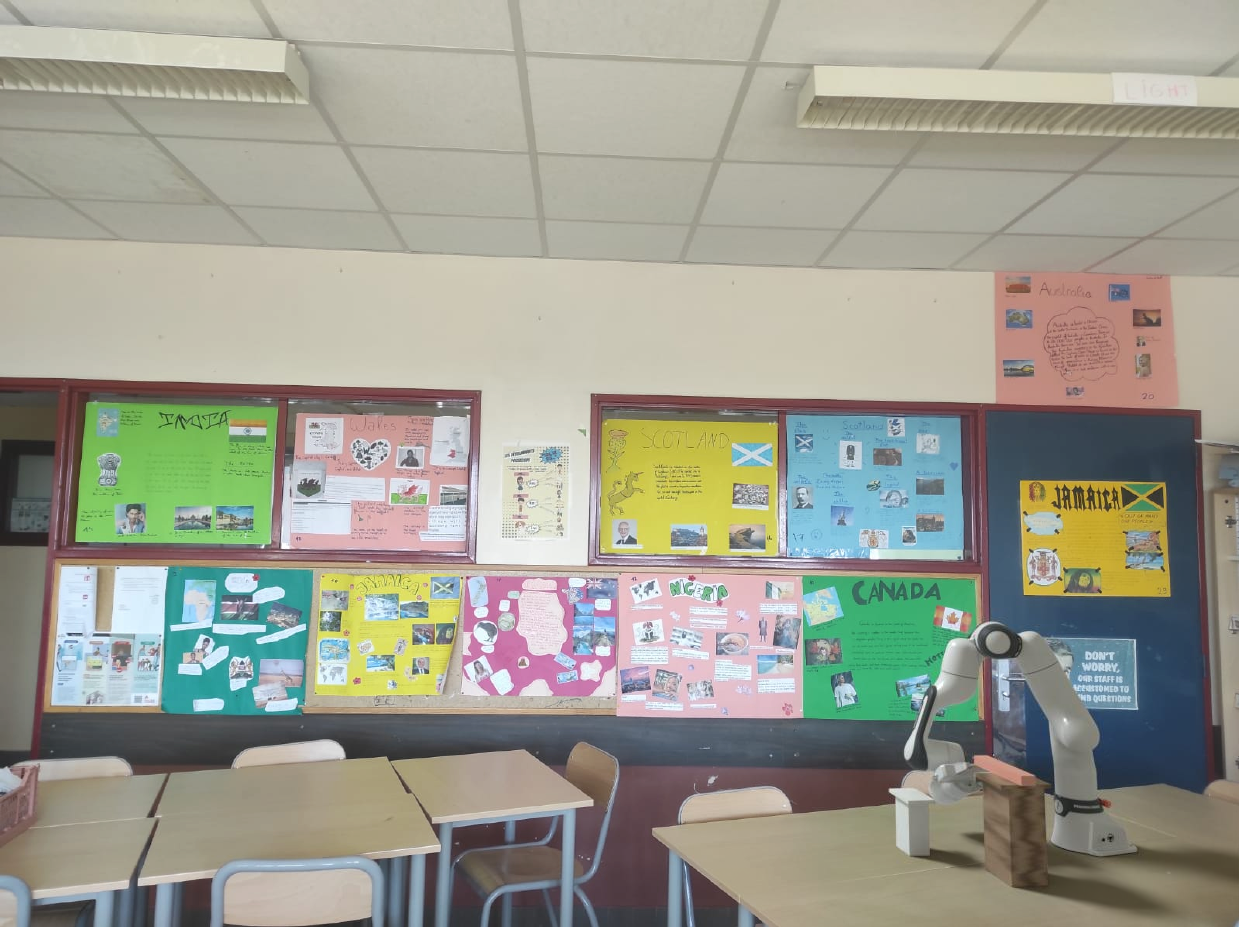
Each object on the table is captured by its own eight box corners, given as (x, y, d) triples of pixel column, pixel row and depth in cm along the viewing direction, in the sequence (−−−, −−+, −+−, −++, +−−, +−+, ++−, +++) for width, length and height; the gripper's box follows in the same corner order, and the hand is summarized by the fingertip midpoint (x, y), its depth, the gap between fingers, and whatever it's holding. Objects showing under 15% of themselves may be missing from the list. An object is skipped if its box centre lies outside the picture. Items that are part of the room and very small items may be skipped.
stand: (915, 843, 240) (914, 788, 242) (936, 857, 228) (935, 800, 230) (890, 843, 239) (888, 788, 241) (909, 858, 227) (908, 800, 229)
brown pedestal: (1025, 867, 223) (1021, 771, 226) (1055, 885, 210) (1051, 784, 213) (977, 868, 221) (974, 772, 224) (1004, 887, 209) (1001, 785, 211)
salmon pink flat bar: (987, 764, 233) (987, 755, 233) (1035, 785, 212) (1035, 775, 212) (974, 764, 233) (973, 755, 233) (1021, 786, 211) (1021, 776, 211)
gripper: (926, 768, 243) (946, 754, 232) (990, 767, 246) (1013, 752, 235) (931, 790, 239) (952, 777, 228) (997, 789, 242) (1020, 775, 231)
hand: (983, 764), depth 231 cm, fingers open, 8 cm apart
